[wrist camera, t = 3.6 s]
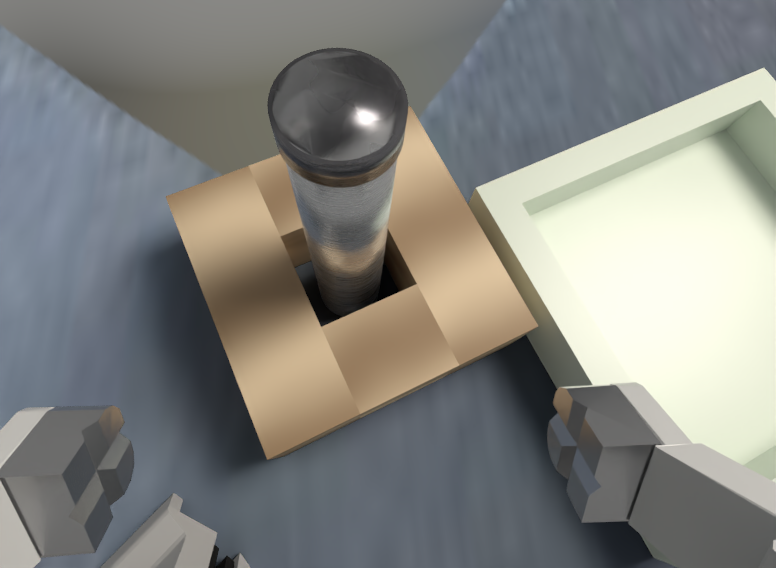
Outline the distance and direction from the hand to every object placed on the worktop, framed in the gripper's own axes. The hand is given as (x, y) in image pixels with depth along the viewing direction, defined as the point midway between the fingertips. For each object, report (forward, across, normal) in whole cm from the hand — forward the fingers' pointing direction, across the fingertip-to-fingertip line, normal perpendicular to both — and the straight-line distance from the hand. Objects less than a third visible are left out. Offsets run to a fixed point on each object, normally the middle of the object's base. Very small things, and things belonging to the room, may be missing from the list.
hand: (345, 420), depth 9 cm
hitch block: (+15, 0, +5) cm, 15 cm away
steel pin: (+15, 0, +5) cm, 15 cm away
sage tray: (+14, -18, +6) cm, 23 cm away
